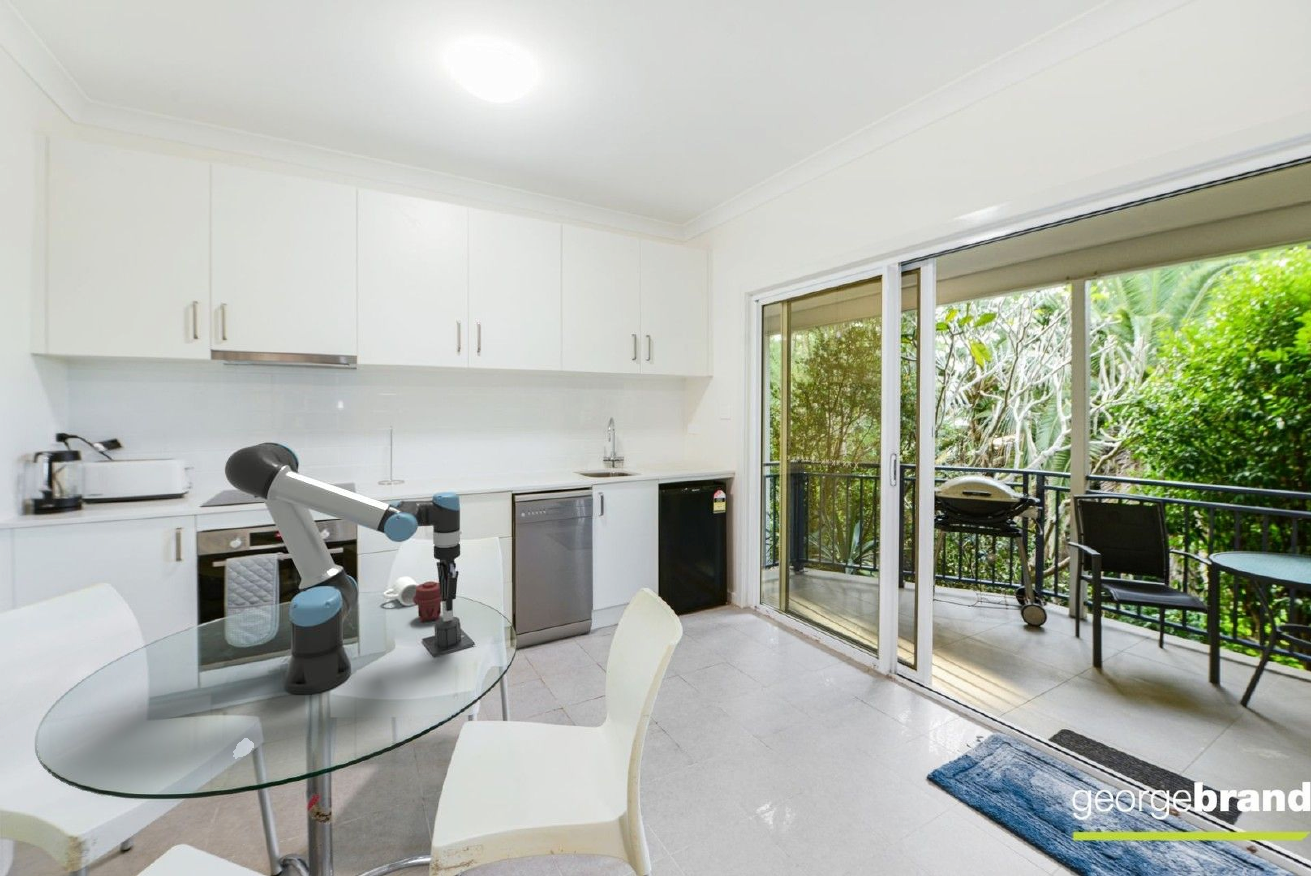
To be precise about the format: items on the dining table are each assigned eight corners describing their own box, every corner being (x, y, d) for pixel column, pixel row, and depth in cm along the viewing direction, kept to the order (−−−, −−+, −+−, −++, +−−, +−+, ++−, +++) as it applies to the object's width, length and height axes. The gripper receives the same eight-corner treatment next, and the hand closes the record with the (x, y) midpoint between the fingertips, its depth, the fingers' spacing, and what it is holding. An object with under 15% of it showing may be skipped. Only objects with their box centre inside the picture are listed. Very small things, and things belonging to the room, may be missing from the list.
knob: (463, 641, 165) (462, 621, 164) (440, 648, 161) (439, 628, 160) (455, 632, 170) (454, 613, 170) (432, 639, 166) (431, 620, 165)
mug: (414, 594, 204) (414, 574, 203) (423, 603, 196) (422, 581, 196) (380, 602, 196) (379, 581, 196) (387, 611, 189) (386, 589, 188)
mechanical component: (423, 611, 189) (450, 613, 188) (407, 623, 179) (436, 625, 178) (422, 577, 188) (450, 579, 187) (406, 587, 178) (435, 589, 177)
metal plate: (434, 657, 157) (433, 640, 157) (422, 641, 167) (421, 626, 166) (474, 645, 165) (474, 629, 164) (461, 631, 174) (460, 616, 174)
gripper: (467, 547, 160) (467, 623, 162) (452, 537, 170) (453, 609, 172) (441, 551, 156) (442, 630, 158) (427, 541, 166) (428, 615, 168)
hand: (447, 619), depth 165 cm, fingers closed
